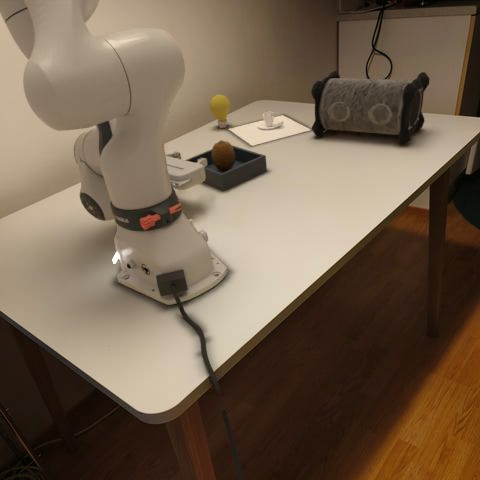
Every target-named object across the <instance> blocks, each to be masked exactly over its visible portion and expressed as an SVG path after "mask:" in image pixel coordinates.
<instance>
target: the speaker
mask: <svg viewBox="0 0 480 480" xmlns="http://www.w3.org/2000/svg"><path fill="white" fill-rule="evenodd" d="M429 85H430V77H429V75H428V74H427V73H426V72H424V71H421V72H420V73H419V74H418V75H417V77H416V78H415V79H387V78H384V79H382V78H341V76H340V74H339V71H338V70H333V71H332V72H330V73H329V74H328V76H326V77H324V78H323V79H322V80H317V81H316V82H314V84H313V85H312V87H311V93H310V94H311V96H312V98H313V100H314V122H313V124H312V126H311V131H312V132H313V134H314V135H315V137H317V138H320V137H322V136H323V135H324V133H325V131H327V130H334V131H340V132H342V131H344V132H345V131H346V132H356V133H358V132H359V133H367V134H368V133H370V134H381V135H393V136H397V139H398V141H399V145H405V144H408V143H409V142H410V141H411V140H412V138H411V137H412V136H413V134H414V133H415V132H418V131H420V130H421V129H422V128H423V126H424V124H425V117H424V114H423V112H422V109H423V103H424V92H425V91H426V89H427V88H428V87H429Z"/></svg>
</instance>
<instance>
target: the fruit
mask: <svg viewBox="0 0 480 480" xmlns="http://www.w3.org/2000/svg"><path fill="white" fill-rule="evenodd" d="M232 145H233V144H232V143H230V142H229V141H225V140H219V141H218V142H216V143H214V144H213V146H212V153H211V155H212V161H213V163H214V165H215V167H216V168H217V169H219V170H221V171H228V170H229V169H231V168H232V167H233V165H234V162H235V152H234V149H233V147H232Z"/></svg>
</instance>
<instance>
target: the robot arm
mask: <svg viewBox="0 0 480 480" xmlns="http://www.w3.org/2000/svg"><path fill="white" fill-rule="evenodd" d="M99 2H100V0H0V16H1V17H2V19H3V22H4V24H5V26H6V28H7V30H8V32H9V34H10V35H11V37H12V39H13V41H14V43H15V44H16V45H17V47H18V49H19V50H20V52H21V53H22V54H23V56H24V57H25V59H27V62H26V63H25V64H26V65H25V67H24V71H23V79H22V83H23V92H24V96H25V99H26V101H27V104H28V105H29V107H30V109H31V110H32V112H33V113H34V115H36V117H37V118H38V119H39V120H40V121H41V122H42V123H44V124H45V125H46V126H47V127H49V128H50V129H52V130H55V131H57V132H61V131H63V132H64V131H74V130H84V129H89V128H92V127H95V128H93V129H90V130H88V131H84V132H83V133H81V134H80V135H79V136H78V137H77V138H76V140H75V141H74V142H75V143H74V145H73V157H74V160H75V162H76V164H77V166H78V170H79V176H80V190H79V199H80V202H81V204H82V206H83V208H84V209H85V210H86V212H88V214H90V216H92V217H94V218H95V219H97V220H99V221H105V222H108V221H113V220H114V222H115V224H116V225H117V226H116V227H117V228H116V233H115V235H114V238H113V243H114V247H115V250H116V252H115V254H114V256H113V258H112V263H113V264H116V263H117V262H119V266H120V269H121V270H120V271H119V272H118V274H117V276H116V278H117V282H118V283H119V284H121V285H123V286H125V287H127V288H129V289H132V290H133V291H136V292H137V293H138V292H139V293H140V294H142V295H145V296H147V297H149V298H151V299H153V300H155V301H157V302H159V303H162V304H164V305H166V306H172V305H177V307H178V310H179V312H180V314H181V316H182V317H183V319H184V320H185V322H187V324H189V326H191V327H192V328H194V329H195V330H196V332H197V333H198V335H199V339H200V351H201V356H202V359H203V362H204V365H205V367H206V371H207V372H208V374H209V377H210V380H211V382H212V385H213V389H214V391H215V394H216V395H220V394H222V391H221V387H220V384H219V381H218V379H217V376H216V374H215V371H214V369H213V367H212V364H211V362H210V360H209V359H210V358H209V356H208V352H207V341H206V336H205V333H204V331H203V329H202V328H201V326H200V325H198V323H196V322H195V321H194V320H193V319H192V318H190V317H189V315H188V313H187V312H186V310H185V308H184V306H183V304H182V303H184V302H186V301H187V302H188V301H189V300H192V299H194V298H197V297H198V296H200V295H202V294H204V293H206V292H208V291H209V290H211V289H212V288H214V287H216V286H217V285H218V284H219V283H221V281H223V280H224V278H225V277H226V276H227V274H228V268H227V266H226V265H225V264H224V263H223V262H222V261H221V260H220V259H219V258H218V257H217V256H216V255H215V254H214V253H213V252H211V249H210V247H209V245H208V241H209V236H208V233H207V231H206V230H205V229H202V230H199V231H198V230H197V228H196V227H195V226H194V220H193V219H192V218H188V217H187V216H186V214H184V212H183V207H182V203H181V202H180V199H179V196H178V195H177V192H176V190H178V191H183V190H187V189H190V188H193V187H195V186H197V185H199V184H201V183H204V182H203V181H205V178H206V175H205V169H204V167H205V166H207V164H208V163H207V159H206V158H200V159H197V163H196V162H195V163H194V162H190V161H185V160H186V159H182V156H181V155H182V154H181V152H179V151H173V152H171V153H166V149H165V137H166V127H167V122H168V117H169V113H170V109H171V106H172V104H173V102H174V100H175V97H176V96H177V94H178V93H179V91H180V90H181V88H182V87H183V83H184V80H185V71H186V70H185V69H186V68H185V67H186V66H185V60H184V56H183V52H182V50H181V48H180V45H179V44H178V42H177V41H176V40H175V38H174V37H173V36H172V35H171V34H170V33H169V32H168V31H167V30H165V29H163V28H158V27H157V28H156V27H132V28H128V29H124V30H119V31H116V32H113V33H112V32H111V33H107V34H104V35H103V34H102V35H96V36H94V35H93V34H92V33H91V31H90V30H89V28H88V26H87V25H86V24H87V22H88V21H89V20H90V19H91V17H92V16H93V15H94V13H95V11H96V10H97V7H98V5H99ZM221 416H222V419H223V422H224V427H225V430H226V434H227V438H228V442H229V446H230V450H231V454H232V459H233V462H234V467H235V471H236V475H237V479H238V480H244V477H243V473H242V468H241V464H240V460H239V456H238V451H237V447H236V444H235V439H234V435H233V431H232V427H231V423H230V420H229V415H228V411H227V408H224V409H223V410H222V411H221Z"/></svg>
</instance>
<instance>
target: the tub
mask: <svg viewBox="0 0 480 480" xmlns="http://www.w3.org/2000/svg"><path fill="white" fill-rule="evenodd" d="M231 145H232V147H233V149H234V152H235V162H234V165H233V167H232V168H231V169H229V170H228V171H221V170H219V169H217V168H216V167H215V165H214V163H213V161H212V155H211V153H212V149H209V150H206V151H204V152H201V153H199V154H197V155H194V156H192V157H189V158H187V159H184V160H185V161H190V162H194V163H195V162H196V163H197V159H200V158H206V159H207V163H208V164H207V166H205V167H204V169H205V175H206V178H205V181H203V182H202V183H205V184H206V185H209V186H212V187H214V188H216V189H219V190H221V191H226V190H229V189H231V188H233V187H235V186H238V185H239V184H242V183H244V182H246V181H248V180H250V179H253V178H255V177H257V176H259V175H261V174H263V173H266V172H267V171H268V166H267V155H265V154H261V153H258V152H255V151H252V150H248V149H246V148H242V147H239V146H235V145H233V144H231Z"/></svg>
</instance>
